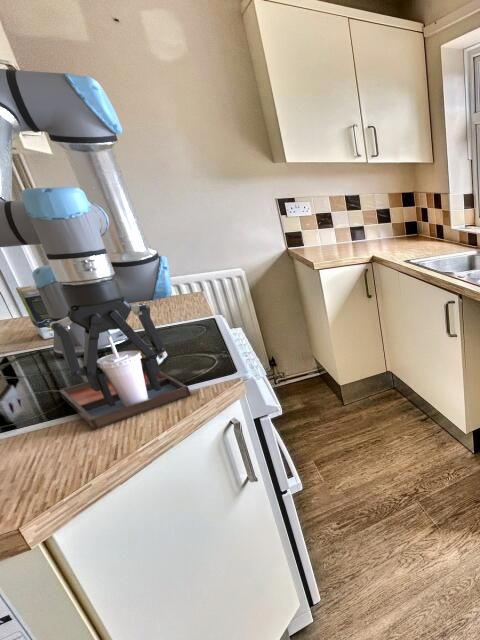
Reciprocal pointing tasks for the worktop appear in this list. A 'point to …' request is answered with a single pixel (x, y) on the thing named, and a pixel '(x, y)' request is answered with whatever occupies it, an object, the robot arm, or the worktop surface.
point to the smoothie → (125, 374)
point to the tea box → (36, 310)
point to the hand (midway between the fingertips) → (134, 395)
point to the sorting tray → (102, 414)
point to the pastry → (159, 357)
